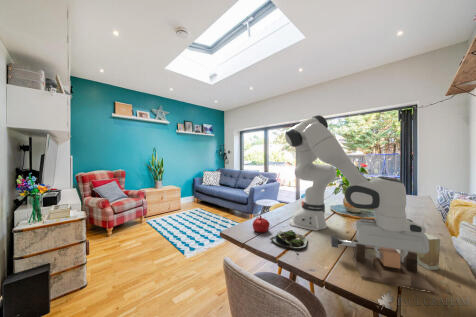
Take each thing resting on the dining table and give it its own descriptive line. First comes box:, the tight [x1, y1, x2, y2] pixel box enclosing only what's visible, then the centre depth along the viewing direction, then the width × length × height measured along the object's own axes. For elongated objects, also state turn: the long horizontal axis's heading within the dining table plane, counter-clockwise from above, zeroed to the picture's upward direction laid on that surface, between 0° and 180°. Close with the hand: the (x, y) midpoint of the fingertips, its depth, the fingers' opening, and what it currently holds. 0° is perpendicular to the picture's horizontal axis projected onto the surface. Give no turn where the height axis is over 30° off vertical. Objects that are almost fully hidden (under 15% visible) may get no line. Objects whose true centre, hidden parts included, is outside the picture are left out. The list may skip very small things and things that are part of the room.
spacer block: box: [379, 247, 401, 269], centre depth 64 cm, size 4×4×5 cm
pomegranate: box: [252, 214, 271, 234], centre depth 104 cm, size 10×10×9 cm
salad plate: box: [269, 229, 308, 251], centre depth 93 cm, size 19×18×5 cm
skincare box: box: [416, 232, 441, 271], centre depth 70 cm, size 6×4×12 cm
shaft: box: [330, 234, 379, 251], centre depth 73 cm, size 21×4×4 cm, turn 68°
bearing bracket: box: [351, 239, 437, 294], centre depth 66 cm, size 20×14×8 cm
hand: (389, 259), depth 64 cm, fingers closed on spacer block, 4 cm apart
